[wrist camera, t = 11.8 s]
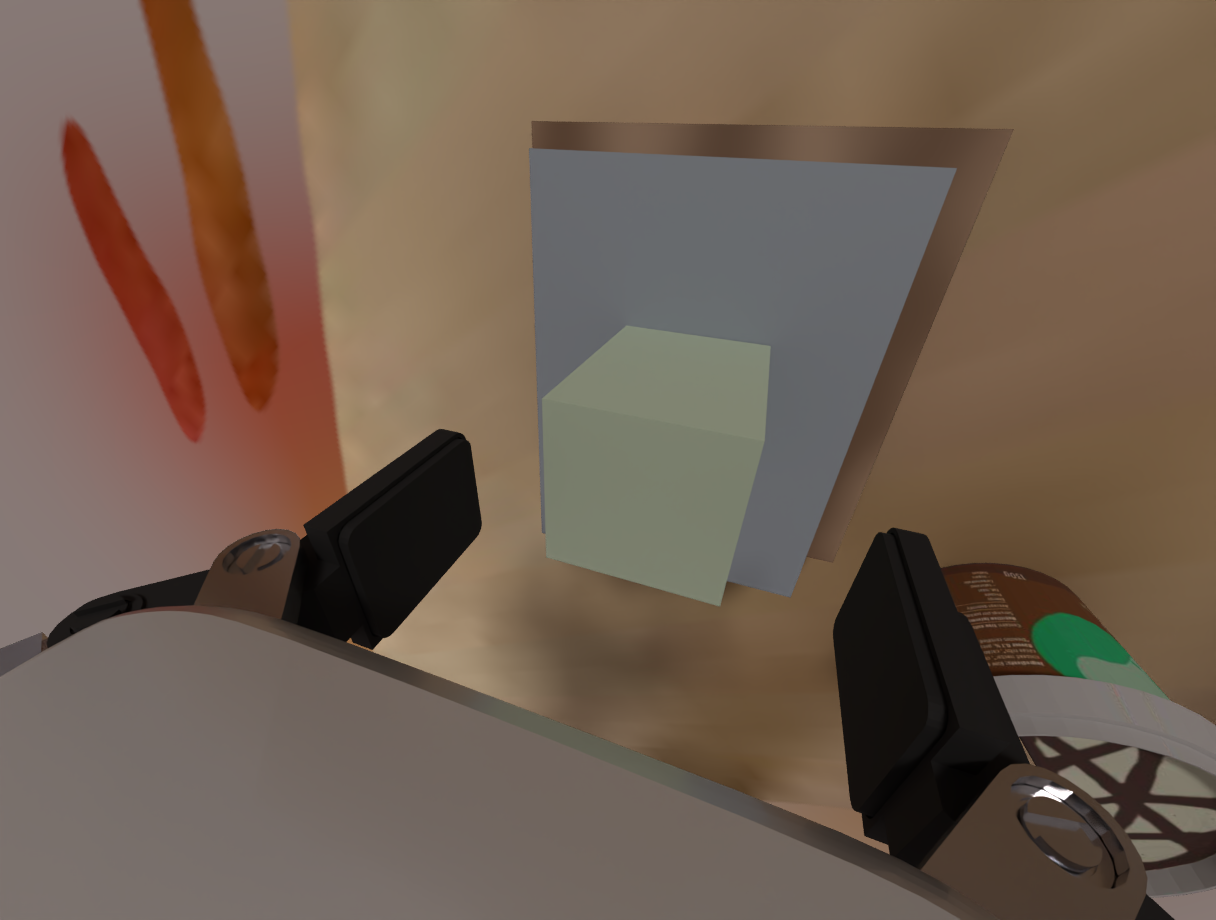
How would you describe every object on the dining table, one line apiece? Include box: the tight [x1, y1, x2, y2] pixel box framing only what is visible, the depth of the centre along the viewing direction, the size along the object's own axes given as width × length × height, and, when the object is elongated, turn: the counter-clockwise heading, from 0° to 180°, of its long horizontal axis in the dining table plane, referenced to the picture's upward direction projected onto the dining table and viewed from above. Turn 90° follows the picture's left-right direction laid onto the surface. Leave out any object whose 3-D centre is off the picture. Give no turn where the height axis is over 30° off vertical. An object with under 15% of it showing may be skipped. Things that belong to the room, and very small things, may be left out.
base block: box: [532, 121, 1014, 563], centre depth 22 cm, size 16×18×4 cm
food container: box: [940, 563, 1216, 898], centre depth 21 cm, size 12×6×10 cm, turn 38°
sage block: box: [542, 326, 771, 606], centre depth 14 cm, size 5×5×7 cm
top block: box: [529, 148, 957, 597], centre depth 19 cm, size 12×16×4 cm
